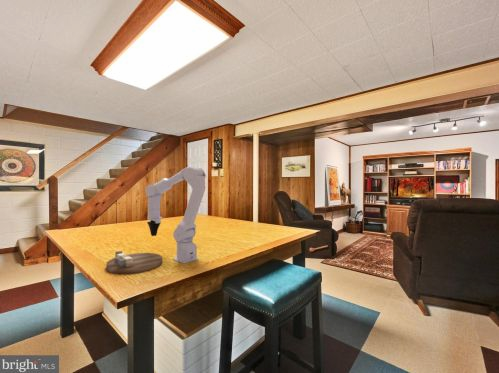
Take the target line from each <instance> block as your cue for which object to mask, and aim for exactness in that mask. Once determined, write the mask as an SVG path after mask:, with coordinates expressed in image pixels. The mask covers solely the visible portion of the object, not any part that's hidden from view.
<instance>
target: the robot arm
mask: <svg viewBox="0 0 499 373" xmlns="http://www.w3.org/2000/svg"><path fill="white" fill-rule="evenodd" d="M206 178H207V174H206V172H205V171H204V169H202V168H199V167H198V168H197V167H192V166H185V168H182V169H181V170H180V171H179V172H178V173H175V174H174V175H173V176H171V177H169V178H166V177H165V178H164V177H163V178H161V180H159V181H157V182H155V183H154V184H153V185H152V184H148V185H147V186H146V187H145V195H146V196H147V219H146V220H148V221H147V222H146V223H147V225H148V227H149V232H150V236H151V237H156V236H157V235H158V231H159V228H160V226H161V223H162V222H161V219H163V216H161V199H162V196H163V193H166V192H168V190H171V189H173V188H172V187H173V185H176V184H177V183H180V182H183V181H186V183H187V184H188V185H189V186H190V187H191V189H192V190H191V193H190V196H189V200H188V201H187V202H188V203H187V206H186V209H185V210H184V211H185V212H184V214H183V218H182V220H181V221H180V222H178V224H177V226H176V228H175V229H174V230H173V238H174V240H175V242H176V256H175V257H173V258H172V260H173V261H176V262H178V263H182V264H188V263H191V262H195V261H198V260H199V258H197V251H198V247H197V244H196V243H195V242H193V240H194V237H195V236H196V233H197V231H196V227H197V224H196V223H195V222H196V218H197V215H198V213H199V209H200V208H201V203H202V202H203V201H202V199H203V197H204V194H205V191H206Z"/></svg>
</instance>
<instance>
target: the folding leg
mask: <svg viewBox="0 0 499 373" xmlns="http://www.w3.org/2000/svg"><path fill="white" fill-rule="evenodd" d="M114 254H115V257H121V258H123V259H125V260H126V267H130V266H133V258H131V257H129V256H128V254H125V253H123V251H122V250H118V251H115V252H114ZM115 257H114V258H115Z"/></svg>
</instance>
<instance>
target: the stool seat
mask: <svg viewBox="0 0 499 373" xmlns="http://www.w3.org/2000/svg"><path fill="white" fill-rule="evenodd" d="M127 255H128V256H129V257H131V258H133V266H130V267H126V260H125V259H123V258H121V257H113V258H112V259H110V260H108V261H107V262H106V263H105V264H106V265H105V266H106V267H105V268H106V271H107V272H109V273H111V274H115V275H117V274H118V275H132V274H139V273H140V274H141V273H143V272H144V273H145V272H149V271H152V270H154V269H156V268H159V267H160V266H161V265H162V264H163V256H162V255H160V254H158V253H155V252H154V253H153V252H150V253H149V252H136V253H129V254H127Z"/></svg>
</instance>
